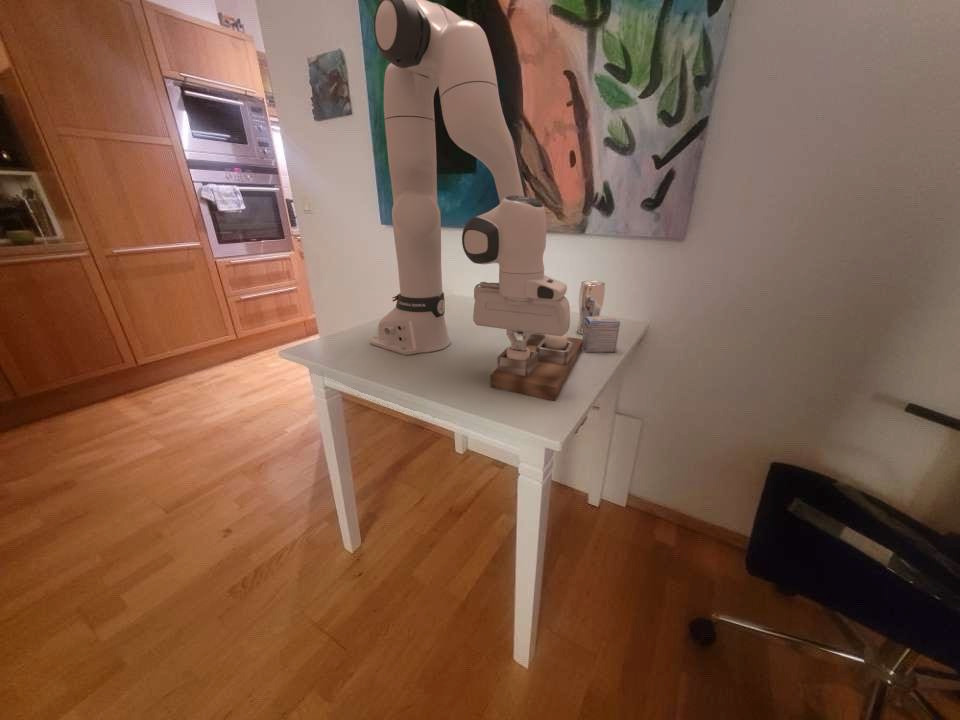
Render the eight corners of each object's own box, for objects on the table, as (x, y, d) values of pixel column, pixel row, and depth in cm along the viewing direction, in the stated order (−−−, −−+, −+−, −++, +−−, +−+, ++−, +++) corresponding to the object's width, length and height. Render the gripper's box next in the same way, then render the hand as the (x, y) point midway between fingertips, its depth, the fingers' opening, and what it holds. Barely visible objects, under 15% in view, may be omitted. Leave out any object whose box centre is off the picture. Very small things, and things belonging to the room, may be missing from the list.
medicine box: (609, 346, 100) (614, 315, 97) (615, 352, 96) (620, 320, 92) (581, 346, 100) (584, 316, 96) (586, 353, 96) (590, 321, 92)
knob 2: (541, 348, 83) (543, 330, 81) (547, 341, 87) (548, 324, 86) (563, 351, 81) (565, 333, 80) (568, 344, 85) (570, 327, 84)
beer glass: (604, 333, 109) (611, 283, 103) (587, 337, 106) (593, 286, 100) (587, 327, 115) (592, 279, 109) (570, 331, 112) (575, 282, 106)
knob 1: (502, 369, 79) (503, 351, 77) (510, 360, 83) (511, 343, 81) (525, 373, 77) (526, 354, 75) (531, 364, 81) (533, 346, 80)
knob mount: (490, 387, 78) (490, 361, 75) (531, 342, 103) (532, 321, 101) (555, 400, 72) (557, 373, 70) (581, 349, 98) (584, 328, 95)
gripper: (467, 283, 74) (468, 347, 80) (568, 292, 66) (562, 362, 72) (480, 278, 79) (480, 338, 85) (575, 285, 72) (568, 351, 77)
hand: (518, 349), depth 78 cm, fingers closed, pressing on knob 1
